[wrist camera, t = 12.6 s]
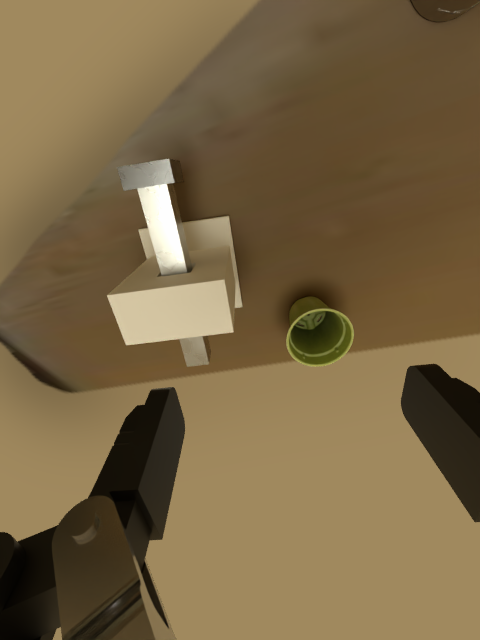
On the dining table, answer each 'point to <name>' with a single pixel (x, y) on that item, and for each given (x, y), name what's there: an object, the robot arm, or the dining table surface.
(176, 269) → the shaft
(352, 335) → the plant pot
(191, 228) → the bracket
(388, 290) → the dining table surface
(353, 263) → the dining table surface
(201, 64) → the dining table surface
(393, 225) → the dining table surface
